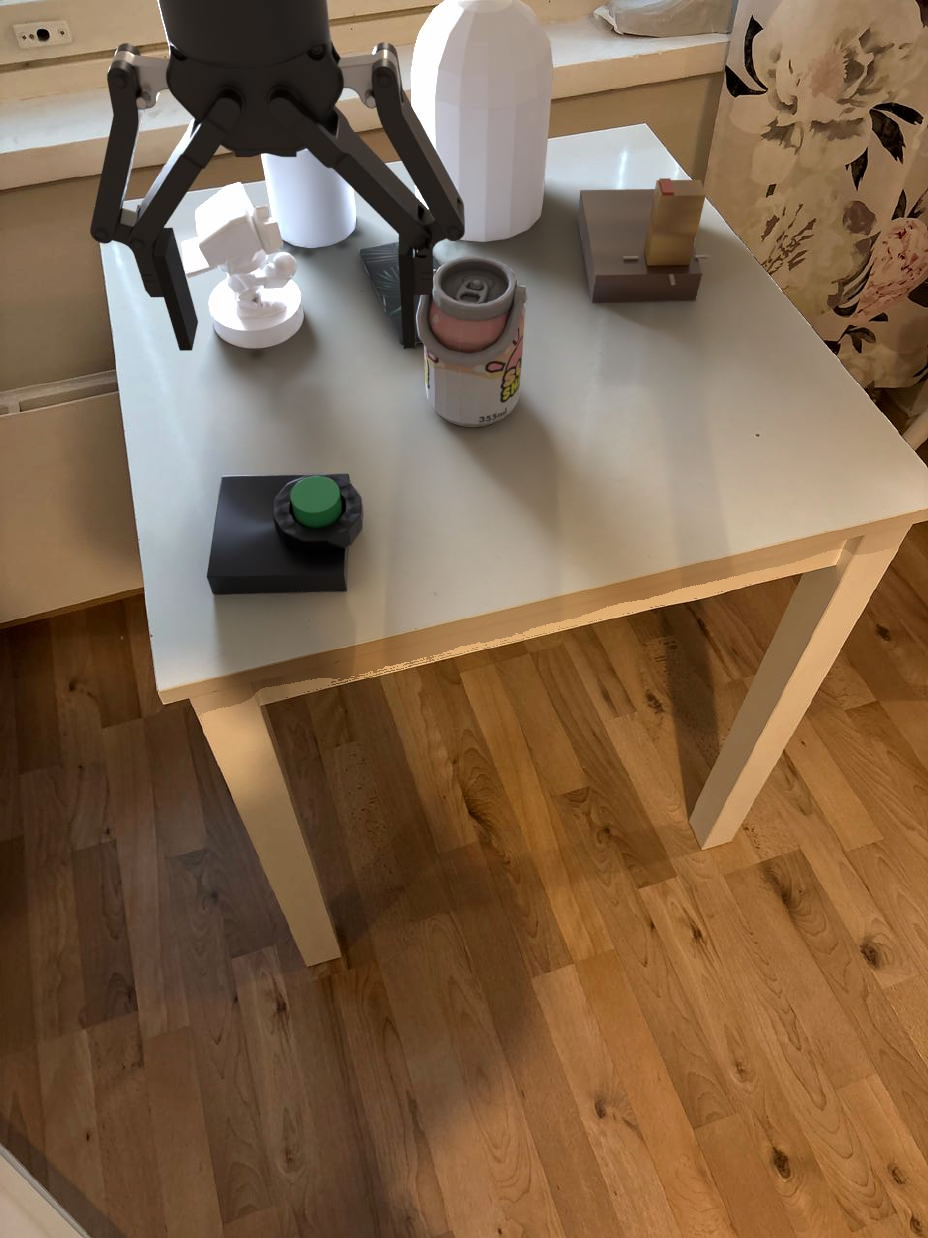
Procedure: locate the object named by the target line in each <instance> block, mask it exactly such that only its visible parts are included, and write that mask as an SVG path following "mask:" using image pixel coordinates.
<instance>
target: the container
mask: <svg viewBox="0 0 928 1238" xmlns="http://www.w3.org/2000/svg"><path fill="white" fill-rule="evenodd" d="M415 42H416V43H415V45H414V51H413V57H412V66H411V71H410V82H411V105H412V107H413V109H414V110H415V112H416V114H417V116H418V118H419V120H420V122H421V124H422V125H423V127H424V129H425V131H426V133H427V135H428V137H429V139H430V140H431V142H432V144H433V146H434V148H435V150H436V152H437V154H438V155H439V157H440V159H441V161H442V163H443V165H444V167H445V169H446V171H447V172H448V174H449V176H450V178H451V180H452V182H453V184H454V186H455V187H456V189H457V191H458V193H459V195H460V197H461V199H462V201H463V203H464V219H465V233H464V236H463V237H462V238H461V239H460V240H459V241H468V242H480V243H487V242H493V241H500V240H507V239H510V238H513V237H516V236H517V235H519V234H521V233H523V232H526V231H528V230H530V229H531V227H533V225H535V223H536V222H537V221H538V220H539V219H540V218H541V217H542V210H543V204H544V203H543V202H544V193H545V191H544V190H545V180H546V168H547V157H548V156H547V155H548V145H549V143H548V142H549V131H550V117H551V104H552V92H553V80H554V71H555V70H554V61H553V53H552V44H551V43H552V42H551V40H550V38H549V36H548V35H547V33H546V31H545V30H544V28H543V25H542V24H541V22H540V20H539V18H538V16H537V15H536V13H535V12H534V10H533V9H532V7H531V6H530V5H528V4H526V3H525V2H524V1H522V0H444V1H442V2H441V3H440V4H439V5H437V6H435V8H433V10H432V12H431V13H430V15H429V16H428V18H427V19H426V21H425V23H424V24H423V26H422V27H421V29H420V31H419V33H418V36H417V39H416V41H415ZM414 188H415V196H416V197H417V198H418V199H419V200H420V201H421V202H422V203H423V204H424V205H425V206H426V207H427V205H426V203H425V201H424V200H423V198H422V196H421V194H420V193H419V191H418V189H417V187H416V186H415V185H414ZM427 208H428V207H427ZM428 209H429V208H428Z"/></svg>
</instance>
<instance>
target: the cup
mask: <svg viewBox="0 0 928 1238" xmlns="http://www.w3.org/2000/svg"><path fill="white" fill-rule="evenodd" d="M260 156H261V162H262V167H263V172H264V177H265V184H266V189H267V195H268V200H269V206H270V213H271V216H272V217H271V218H272V219H274V220H276V221H277V222H278V226H279V229H280V234H281V238H282V241H283V242H285V243H288V244H290V245H291V246H295V247H300V248H306V249H307V248H308V249H316V248H323V247H330V246H334V245H335V244H338V243H340V242H342V241H344V240H346V239H348V237H349V236H350V235H351V234H352V233H353V232H354V231H355V230H356V224H357V212H356V210H357V209H356V201H355V190H354V189H353V188H352V187H351V186H350V185H349V184H348V183H347V182H346V181H345V180H344V179H343V178H342V177H341V176H340V175H339V174H338V173H337V172H336V171H335V170H334V169H332V168H327V167H325V166H324V165H323V164H322V163H321V162H320V161H319V160H318V159H317V158H316V157H315V156H314V155H313V154H312V153H311V152H310V151H309V150H308V149H307V148H306V149H304V150H302V151H300V152H297V157H279V156H275V155H271V154H267V153H264V154H261V155H260Z"/></svg>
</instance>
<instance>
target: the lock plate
mask: <svg viewBox="0 0 928 1238" xmlns="http://www.w3.org/2000/svg"><path fill="white" fill-rule="evenodd" d="M654 191H655V188H648V189H647V188H641V189H639V188H638V189H636V188H635V189H633V188H632V189H631V188H630V189H629V188H628V189H580V190H579V196H578V197H579V198H578V207H577V213H576V214H577V216H576V218H577V223H578V224H577V225H578V228H579V229H578V231H579V235H580V241H581V248H582V253H583V259H584V265H585V270H586V277H587V282H588V288H589V295H590V299H591V303H639V302H640V303H641V302H642V303H643V302H644V303H645V302H646V303H647V302H695V301H697V298H698V293H699V290H700V286H701V282H702V277H703V271H702V268H701V263H700V261H699V259H700V260H701V259H711V255H710V254H697V250H696V246H695V245H694V248H693V253H692V257H691V261H690V265H655V266H648V265H647V261H646V257H645V252H644V246H645V240H646V235H647V229H648V224H649V218H650V213H651V207H652V202H653V196H654Z"/></svg>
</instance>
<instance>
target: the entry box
mask: <svg viewBox="0 0 928 1238" xmlns="http://www.w3.org/2000/svg"><path fill="white" fill-rule="evenodd" d="M312 476H322V477H326V478H329V479H331V480H333V481H334V482H335V483H336V484H337V485H338V487H339V490H340V496H341V503H342V512H341V515H340V517H339V518H338V519H337V520H336V521H335V522H334V523H332V524H331V525H328V526H326V527H322V528H310V527H307V526H304V525H302V524H301V523H299V522H298V521H297V519H296V518H295V516H294V512H293V507H292V502H291V491H292V489H293V487H294V486H295V485H296V484H297V483H298V482H299V481H301V480H303V479H305V478H308V477H312ZM217 499H218V500H217V506H216V507H217V508H216V513H215V518H214V527H213V531H212V540H211V544H210V551H209V559H208V564H207V572H206V579H207V582H208V585H209V588H210V590H211V593H212V595H249V594H252V595H253V594H289V593H290V594H292V593H294V594H295V593H296V594H297V593H338V592H339V593H340V592H347V591H348V580H349V579H348V576H349V556H350V547H351V545H352V544H353V543H354V542H355V541H356V539H357V538H358V536H360V535H361V533H362V532H363V529H364V506H363V497H362V496H361V495H360V493H359V492H358V490H357V489H356V488H355V486H354V485H353V483H352V482H351V477H350V473H348V472H347V473H307V474H306V473H304V474H302V473H301V474H299V473H298V474H256V475H255V474H252V475H249V474H248V475H247V474H246V475H221V480H220V486H219V491H218V498H217Z"/></svg>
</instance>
